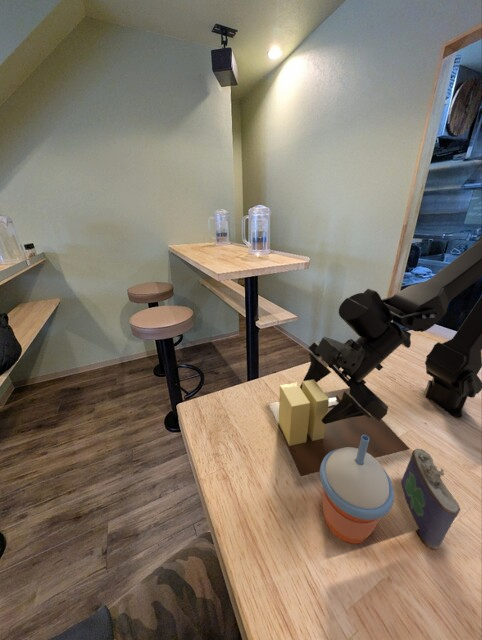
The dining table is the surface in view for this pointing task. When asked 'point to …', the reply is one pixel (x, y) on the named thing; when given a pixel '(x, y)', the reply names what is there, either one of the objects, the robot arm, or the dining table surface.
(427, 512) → the flask
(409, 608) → the dining table surface
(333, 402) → the knife
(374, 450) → the board
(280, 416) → the butter block
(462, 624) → the dining table surface
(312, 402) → the block
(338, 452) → the cup with straw
